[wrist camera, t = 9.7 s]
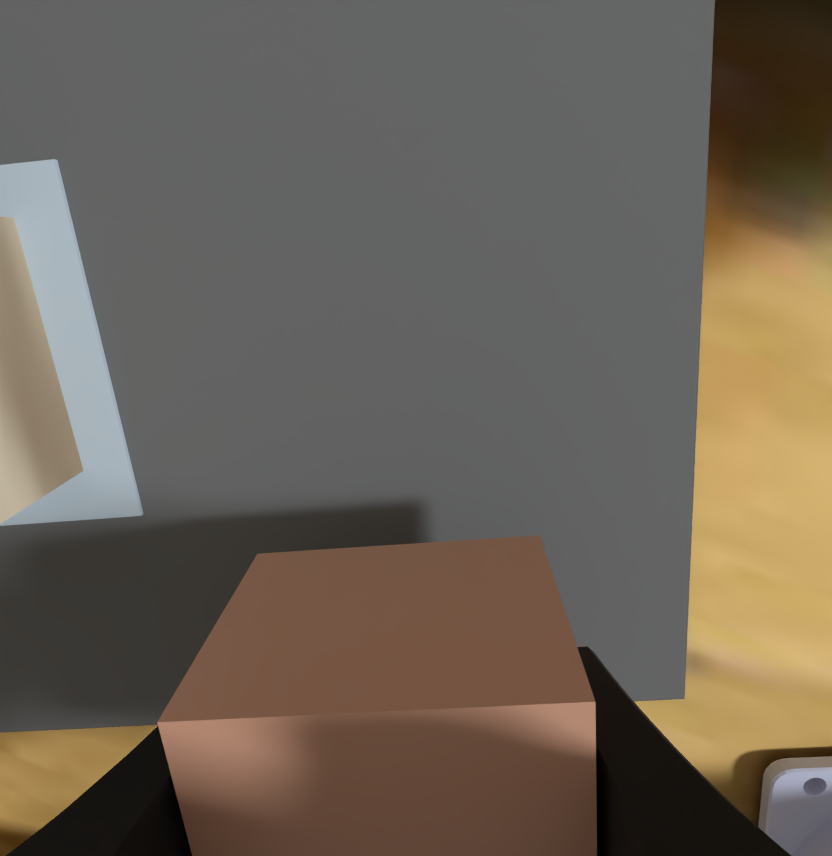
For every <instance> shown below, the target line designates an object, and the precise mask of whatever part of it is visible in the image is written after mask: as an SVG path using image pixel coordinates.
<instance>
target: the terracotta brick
mask: <svg viewBox="0 0 832 856" xmlns="http://www.w3.org/2000/svg"><path fill="white" fill-rule="evenodd" d="M157 724H158V727H159V731H160V735H161V739H162V743H163V746H164V750H165V754H166V758H167V762H168V765H169V769H170V773H171V777H172V781H173V784H174V788H175V792H176V796H177V800H178V803H179V807H180V811H181V815H182V819H183V822H184V826H185V830H186V834H187V838H188V841H189V845H190V849H191V853H192V856H597V799H596V702H595V699H594V696H593V693H592V690H591V687H590V684H589V681H588V678H587V675H586V672H585V669H584V666H583V663H582V660H581V657H580V654H579V651H578V648H577V645H576V642H575V639H574V636H573V633H572V630H571V627H570V624H569V622H568V619H567V616H566V613H565V610H564V607H563V604H562V601H561V598H560V595H559V592H558V589H557V586H556V583H555V580H554V577H553V574H552V571H551V568H550V565H549V562H548V559H547V556H546V553H545V550H544V547H543V544H542V541H541V538H540V535H536V536H521V537H506V538H490V539H475V540H460V541H444V542H429V543H414V544H398V545H383V546H368V547H352V548H337V549H322V550H306V551H291V552H276V553H260V554H257V555H256V557H255V559H254V560H253V562H252V564H251V566H250V567H249V569H248V571H247V572H246V574H245V576H244V577H243V579H242V581H241V582H240V584H239V586H238V587H237V589H236V591H235V592H234V594H233V596H232V597H231V599H230V601H229V602H228V604H227V606H226V608H225V609H224V611H223V613H222V614H221V616H220V618H219V619H218V621H217V623H216V624H215V626H214V628H213V629H212V631H211V633H210V634H209V636H208V638H207V639H206V641H205V643H204V645H203V646H202V648H201V650H200V651H199V653H198V655H197V656H196V658H195V660H194V661H193V663H192V665H191V666H190V668H189V670H188V671H187V673H186V675H185V676H184V678H183V680H182V681H181V683H180V685H179V687H178V688H177V690H176V692H175V693H174V695H173V697H172V698H171V700H170V702H169V703H168V705H167V707H166V708H165V710H164V712H163V713H162V715H161V717H160V718H159V720H158V722H157Z"/></svg>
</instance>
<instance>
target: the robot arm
mask: <svg viewBox="0 0 832 856" xmlns="http://www.w3.org/2000/svg"><path fill="white" fill-rule="evenodd" d="M577 648H578V651H579V654H580V657H581V660H582V663H583V666H584V669H585V672H586V675H587V678H588V681H589V684H590V687H591V690H592V693H593V696H594V699H595V702H596V799H597V856H832V756H826V757H802V758H784V759H779V760H776V761H774V762H772V763H771V764H770V765H769V766H768V767H767V768H766V769H765V772H764V775H763V783H762V794H761V805H760V815H759V826H758V827H757V826H756V825H755V824H754V823H753V822H752V821H751V820H749V819H748V818H747V817H746V816H745V815H744V814H743V813H742V812H741V811H740V810H738V809H737V808H736V807H735V806H734V805H733V804H732V803H731V802H730V801H729V800H728V799H727V798H726V797H724V796H723V795H722V794H721V793H720V792H719V791H718V790H717V789H716V788H715V787H714V786H713V785H712V784H711V783H710V782H709V781H708V780H707V779H706V778H705V777H704V776H703V775H702V774H701V773H700V772H699V771H698V770H697V769H696V768H695V767H694V766H693V765H692V764H691V763H690V762H689V761H688V760H687V759H686V758H685V757H684V756H683V755H682V754H681V753H680V752H679V751H678V750H677V749H676V748H675V747H674V746H673V745H672V744H671V742H670V741H669V740H668V739H667V738H666V737H665V736H664V735H663V734H662V733H661V732H660V730H659V729H658V728H657V727H656V726H655V725H654V724H653V723H652V722H651V721H650V720H649V718H648V717H647V716H646V715H645V714H644V713H643V712H642V711H641V709H640V708H639V707H638V706H637V705H636V704H635V703H634V701H633V700H632V699H631V698H630V697H629V695H628V694H627V693H626V692H625V691H624V689H623V688H622V687H621V686H620V685H619V683H618V682H617V681H616V680H615V678H614V677H613V676H612V675H611V673H610V672H609V671H608V670H607V668H606V667H605V666H604V664H603V663H602V662H601V661H600V659H599V658H598V657H597V655H596V654H595V653H594V652H593V651H592V650H591V649H590V648H589V647H588V646H586V647H577ZM809 779H810V780H809ZM6 856H192V853H191V849H190V845H189V841H188V838H187V834H186V830H185V826H184V822H183V819H182V815H181V811H180V807H179V803H178V800H177V796H176V792H175V788H174V784H173V781H172V777H171V773H170V769H169V765H168V762H167V758H166V754H165V750H164V746H163V743H162V739H161V735H160V731H159V727H157V728H155V729H154V730H153V731H152V732H151V733H150V734H149V735H148V736H147V737H146V738H145V739H144V740H143V741H142V742H141V743H140V744H139V745H137V746H136V747H135V748H134V749H133V750H132V751H131V752H130V753H129V754H128V755H127V756H126V757H125V758H123V759H122V760H121V761H120V762H119V763H118V764H117V765H115V766H114V767H113V768H112V769H111V770H110V771H109V772H107V773H106V774H105V775H104V776H103V777H102V778H101V779H99V780H98V781H97V782H96V783H95V784H94V785H93V786H91V787H90V788H89V789H88V790H87V791H86V792H85V793H83V794H82V795H81V796H80V797H79V798H78V799H77V800H75V801H74V802H73V803H72V804H71V805H70V806H69V807H67V808H66V809H65V810H64V811H62V812H61V813H60V814H59V815H58V816H56V817H55V818H54V819H53V820H51V821H50V822H49V823H48V824H46V825H45V826H44V827H43V828H41V829H40V830H39V831H38V832H36V833H35V834H34V835H33V836H31V837H30V838H29V839H27V840H26V841H25V842H24V843H22V844H21V845H20V846H18V847H17V848H16V849H14V850H13V851H12V852H10V853H9V854H8V855H6Z"/></svg>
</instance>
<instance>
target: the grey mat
mask: <svg viewBox="0 0 832 856" xmlns="http://www.w3.org/2000/svg"><path fill="white" fill-rule="evenodd" d="M714 4H715V0H0V217H14V219H15V222H16V226H17V230H18V233H19V237H20V241H21V244H22V248H23V252H24V255H25V259H26V263H27V266H28V270H29V274H30V277H31V281H32V284H33V288H34V292H35V295H36V299H37V303H38V306H39V310H40V314H41V317H42V321H43V325H44V328H45V332H46V336H47V339H48V343H49V346H50V350H51V354H52V357H53V361H54V365H55V368H56V372H57V376H58V379H59V383H60V387H61V390H62V394H63V398H64V401H65V405H66V408H67V412H68V416H69V419H70V423H71V427H72V430H73V434H74V438H75V441H76V445H77V449H78V452H79V456H80V460H81V463H82V467H83V470H84V471H82V472H81V473H79V474H78V475H76V476H74V477H73V478H71V479H70V480H68V481H67V482H65V483H64V484H62V485H60V486H59V487H57V488H56V489H54V490H53V491H51V492H50V493H48V494H46V495H45V496H43V497H42V498H40V499H39V500H37V501H36V502H34V503H32V504H31V505H29V506H28V507H26V508H25V509H23V510H22V511H20V512H18V513H17V514H15V515H14V516H12V517H11V518H9V519H8V520H6V521H4V522H3V523H1V524H0V732H19V731H39V730H60V729H80V728H100V727H121V726H141V725H158V724H157V722H158V720H159V718H160V717H161V715H162V713H163V712H164V710H165V708H166V707H167V705H168V703H169V702H170V700H171V698H172V697H173V695H174V693H175V692H176V690H177V688H178V687H179V685H180V683H181V681H182V680H183V678H184V676H185V675H186V673H187V671H188V670H189V668H190V666H191V665H192V663H193V661H194V660H195V658H196V656H197V655H198V653H199V651H200V650H201V648H202V646H203V645H204V643H205V641H206V639H207V638H208V636H209V634H210V633H211V631H212V629H213V628H214V626H215V624H216V623H217V621H218V619H219V618H220V616H221V614H222V613H223V611H224V609H225V608H226V606H227V604H228V602H229V601H230V599H231V597H232V596H233V594H234V592H235V591H236V589H237V587H238V586H239V584H240V582H241V581H242V579H243V577H244V576H245V574H246V572H247V571H248V569H249V567H250V566H251V564H252V562H253V560H254V559H255V557H256V555H257V554H260V553H276V552H291V551H306V550H322V549H337V548H352V547H368V546H383V545H398V544H414V543H429V542H444V541H460V540H475V539H490V538H506V537H521V536H536V535H540V538H541V541H542V544H543V547H544V550H545V553H546V556H547V559H548V562H549V565H550V568H551V571H552V574H553V577H554V580H555V583H556V586H557V589H558V592H559V595H560V598H561V601H562V604H563V607H564V610H565V613H566V616H567V619H568V622H569V624H570V627H571V630H572V633H573V636H574V639H575V642H576V645H577V647H586V646H588V647H589V648H590V649H591V650H592V651H593V652H594V653H595V654H596V655H597V657H598V658H599V659H600V661H601V662H602V663H603V664H604V666H605V667H606V668H607V670H608V671H609V672H610V673H611V675H612V676H613V677H614V678H615V680H616V681H617V682H618V683H619V685H620V686H621V687H622V688H623V689H624V691H625V692H626V693H627V694H628V695H629V697H630V698H631V699H632V700H633V701H650V700H670V699H684V695H685V672H686V649H687V626H688V603H689V580H690V557H691V534H692V511H693V488H694V465H695V442H696V419H697V396H698V373H699V350H700V327H701V304H702V281H703V258H704V235H705V212H706V188H707V165H708V142H709V119H710V96H711V73H712V50H713V27H714Z"/></svg>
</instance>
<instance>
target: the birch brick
mask: <svg viewBox="0 0 832 856" xmlns="http://www.w3.org/2000/svg"><path fill="white" fill-rule="evenodd" d="M82 471H84V470H83V467H82V463H81V460H80V456H79V452H78V449H77V445H76V441H75V438H74V434H73V430H72V427H71V423H70V419H69V416H68V412H67V408H66V405H65V401H64V398H63V394H62V390H61V387H60V383H59V379H58V376H57V372H56V368H55V365H54V361H53V357H52V354H51V350H50V346H49V343H48V339H47V336H46V332H45V328H44V325H43V321H42V317H41V314H40V310H39V306H38V303H37V299H36V295H35V292H34V288H33V284H32V281H31V277H30V274H29V270H28V266H27V263H26V259H25V255H24V252H23V248H22V244H21V241H20V237H19V233H18V230H17V226H16V222H15V219H14V217H0V524H1V523H3V522H4V521H6V520H8V519H9V518H11V517H12V516H14V515H15V514H17V513H18V512H20V511H22V510H23V509H25V508H26V507H28V506H29V505H31V504H32V503H34V502H36V501H37V500H39V499H40V498H42V497H43V496H45V495H46V494H48V493H50V492H51V491H53V490H54V489H56V488H57V487H59V486H60V485H62V484H64V483H65V482H67V481H68V480H70V479H71V478H73V477H74V476H76V475H78V474H79V473H81V472H82Z"/></svg>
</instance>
